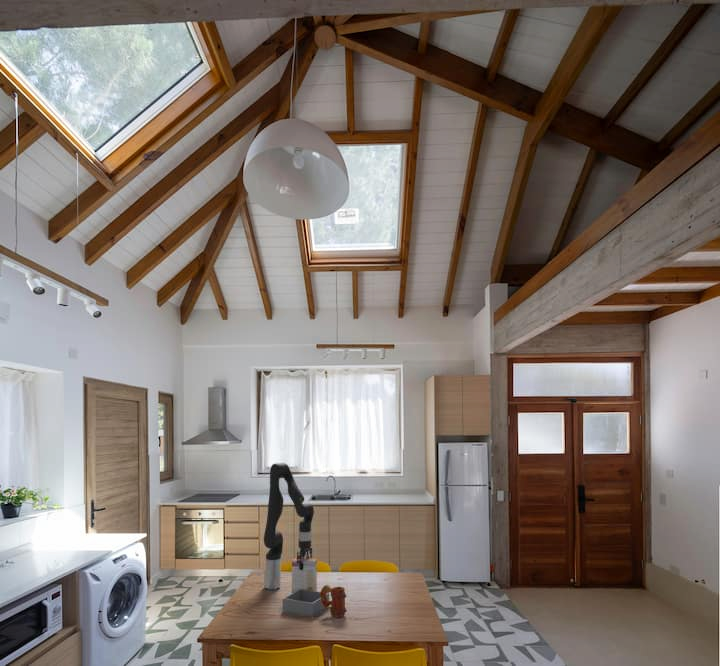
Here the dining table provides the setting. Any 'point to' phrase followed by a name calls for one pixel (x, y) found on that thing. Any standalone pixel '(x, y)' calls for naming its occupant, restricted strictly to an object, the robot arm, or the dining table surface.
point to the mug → (334, 600)
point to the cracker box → (304, 575)
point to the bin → (304, 603)
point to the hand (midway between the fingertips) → (304, 568)
